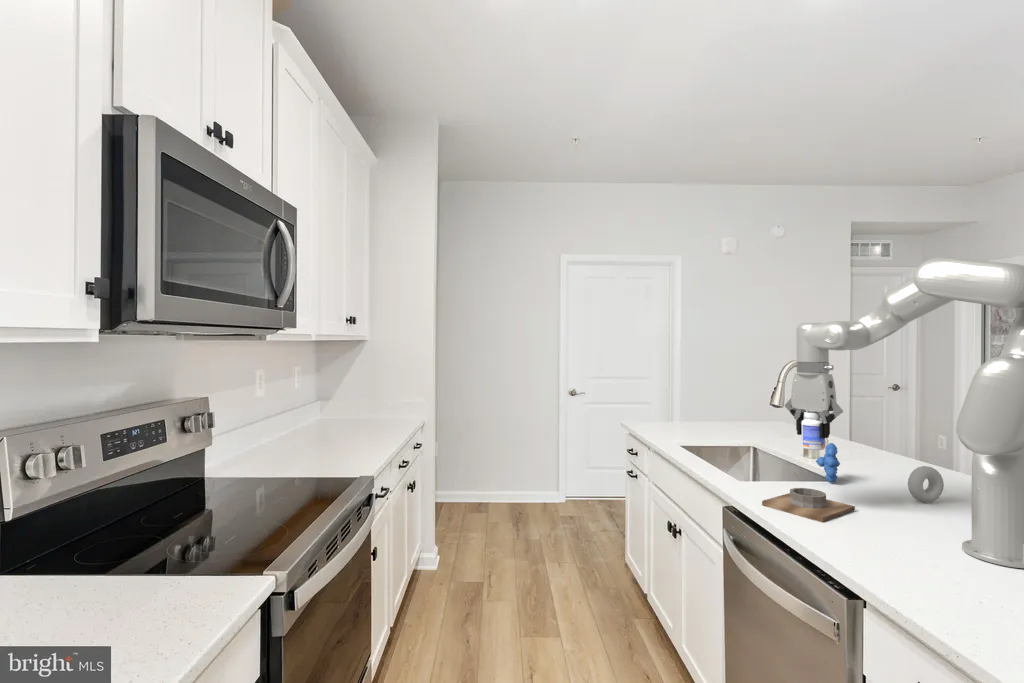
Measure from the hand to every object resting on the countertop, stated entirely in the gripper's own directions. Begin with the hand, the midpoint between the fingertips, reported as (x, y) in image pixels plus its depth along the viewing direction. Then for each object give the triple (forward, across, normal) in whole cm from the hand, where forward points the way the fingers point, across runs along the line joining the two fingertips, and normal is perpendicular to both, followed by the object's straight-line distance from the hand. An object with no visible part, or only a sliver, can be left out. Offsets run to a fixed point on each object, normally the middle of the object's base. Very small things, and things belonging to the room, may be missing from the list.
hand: (812, 435), depth 142 cm
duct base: (+19, 0, +2) cm, 19 cm away
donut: (+20, -14, -30) cm, 39 cm away
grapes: (+20, +12, -30) cm, 38 cm away
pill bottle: (+4, 0, 0) cm, 4 cm away
